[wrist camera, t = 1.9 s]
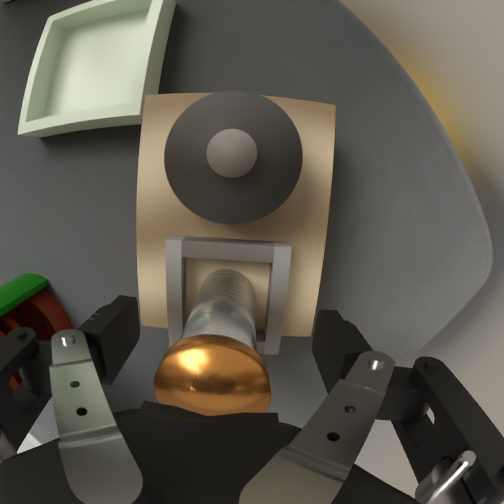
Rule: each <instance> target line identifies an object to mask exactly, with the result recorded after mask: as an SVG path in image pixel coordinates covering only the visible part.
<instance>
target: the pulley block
mask: <svg viewBox="0 0 504 504" xmlns="http://www.w3.org/2000/svg"><path fill="white" fill-rule="evenodd" d="M335 111H336V105H331V104H325V103H320V102H313V101H307V100H300V99H292V98H284V97H275V96H264V95H259V94H256V93H252V92H248V91H241V90H227V91H220V92H216V93H174V94H156V95H146V96H145V103H144V111H143V119H142V128H141V138H140V149H139V162H138V180H137V213H136V237H137V270H138V287H139V301H140V312H141V322H142V325H144V326H151V327H159V328H168V334H169V347H171V346H172V345H173V344H175V343H176V342H178V341H180V339H181V336H182V333H183V331H184V328H185V326H186V323H187V321H188V318H189V316H190V313H191V310H192V308H193V305H194V303H195V300H196V298H197V295H198V293H199V291H200V288H201V286H202V283H203V281H204V280H205V278H206V277H207V276H208V275H209V274H210V273H212V272H214V271H216V270H219V269H233V270H236V271H238V272H240V273H242V274H243V275H244V276H245V277H246V278H247V279H248V280H249V282H250V284H251V286H252V291H253V303H254V317H255V330H256V343H257V353H258V354H272V355H279V348H280V341H281V336H298V337H311V333H312V327H313V322H314V316H315V310H316V304H317V298H318V292H319V285H320V279H321V272H322V265H323V257H324V250H325V242H326V233H327V225H328V215H329V205H330V195H331V183H332V170H333V155H334V137H335Z"/></svg>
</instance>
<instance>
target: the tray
mask: <svg viewBox="0 0 504 504" xmlns="http://www.w3.org/2000/svg"><path fill="white" fill-rule="evenodd" d="M175 6H176V2H175V0H93V1H90V2H87V3H84V4H81V5H78V6H75V7H72V8H70V9H67V10H64V11H62V12H59V13H57V14H55V15H52V16H50V17H49V18H48V20H47V23H46V25H45V28H44V30H43V33H42V36H41V38H40V41H39V44H38V47H37V50H36V53H35V56H34V60H33V63H32V66H31V70H30V74H29V77H28V81H27V86H26V90H25V94H24V99H23V104H22V110H21V115H20V122H19V128H18V135H22V136H30V137H37V138H41V137H46V136H51V135H56V134H62V133H68V132H74V131H81V130H88V129H96V128H105V127H115V126H126V125H140V124H142V119H143V111H144V103H145V96H146V95H156V94H158V90H159V83H160V77H161V71H162V65H163V60H164V54H165V49H166V44H167V39H168V35H169V30H170V26H171V22H172V17H173V13H174V9H175Z"/></svg>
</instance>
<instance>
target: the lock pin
mask: <svg viewBox="0 0 504 504" xmlns="http://www.w3.org/2000/svg"><path fill="white" fill-rule="evenodd" d="M154 391H155V395H156V397H157V399H158V401H159V403H160V404H166V405H173V406H177V407H180V408H183V409H186V410H189V411H192V412H196V413H199V414H202V415H206V416H215V415H225V414H234V413H241V412H254V413H265V412H266V410H267V409H268V406H269V404H270V400H271V390H270V382H269V374H268V369H267V366H266V364H265V362H264V361H263V359H262V358H261V356H260V355H259V354H258V353H257V343H256V330H255V317H254V303H253V291H252V286H251V284H250V282H249V280H248V279H247V278H246V277H245V276H244V275H243V274H242V273H240V272H238V271H236V270H233V269H219V270H216V271H214V272H212V273H210V274H209V275H208V276H207V277H206V278H205V280H204V281H203V283H202V286H201V288H200V291H199V293H198V295H197V298H196V300H195V303H194V305H193V308H192V310H191V313H190V316H189V318H188V321H187V323H186V326H185V328H184V331H183V333H182V336H181V339H180V341H178V342H176V343H175V344H173V345H172V346H171V347H170V348H169V349H168V350H167V351H166V353H165V354H164V356H163V358H162V360H161V363H160V365H159V367H158V370H157V372H156V375H155V378H154Z"/></svg>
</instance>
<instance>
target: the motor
mask: <svg viewBox="0 0 504 504" xmlns="http://www.w3.org/2000/svg"><path fill="white" fill-rule="evenodd" d="M46 286H47V279H45V278H44V277H42V276H39V275H36V274H24V275H21V276H19V277H17V278H16V279H14V280H12V281H10V282H8V283H6V284H4V285H3V286H1V287H0V340H1V339H2V338H3V337H4V336H6V335H7V334H8V333H9V332H10V331H12V330H14V329H16V328H20V327H29V328H32V329H33V330H34V331H35V333H36V337H37V340H43V341H51V339H52V337H53V335H54V334H56V333H57V332H59V331H62V330H66V329H73V328H72V325H71V323H70V321H69V319H68V317H67V315H66V313H65V311H64V310H63V308H62V307H61V306H60V305H59V303H58V302H57V301H56V300H55V299H54V298H53V297H52V296H51V295H50V294H48V293H47V292H45V291H44V290H42V289H43V288H45V287H46ZM41 324H43V325H44V326H45V329H44V328H42V326H41ZM21 383H22V379H21V377H20V374H19V372H18V371H17V372H16V373H15V374H14V375H13V376H12V378H11V379H10V383H9V388H10V391H11V393H12V394H13V392H14V391H15V390H16V389H17V388H18V386H19V385H20V384H21Z"/></svg>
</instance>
